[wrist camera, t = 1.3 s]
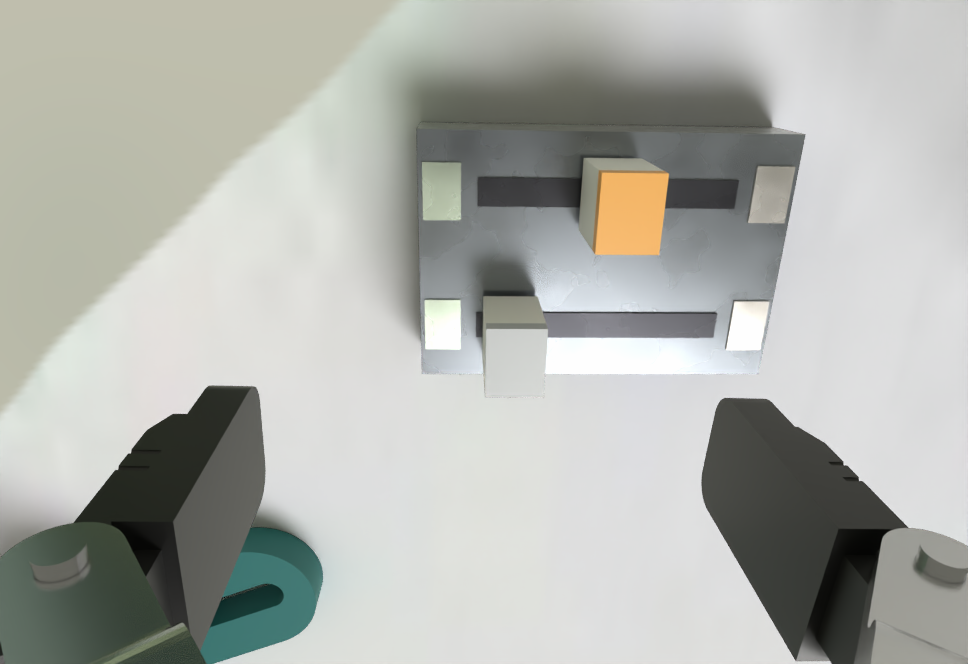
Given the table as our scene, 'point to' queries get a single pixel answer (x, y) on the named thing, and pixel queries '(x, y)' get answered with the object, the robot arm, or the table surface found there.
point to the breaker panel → (603, 278)
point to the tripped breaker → (622, 206)
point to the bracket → (265, 595)
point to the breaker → (514, 347)
